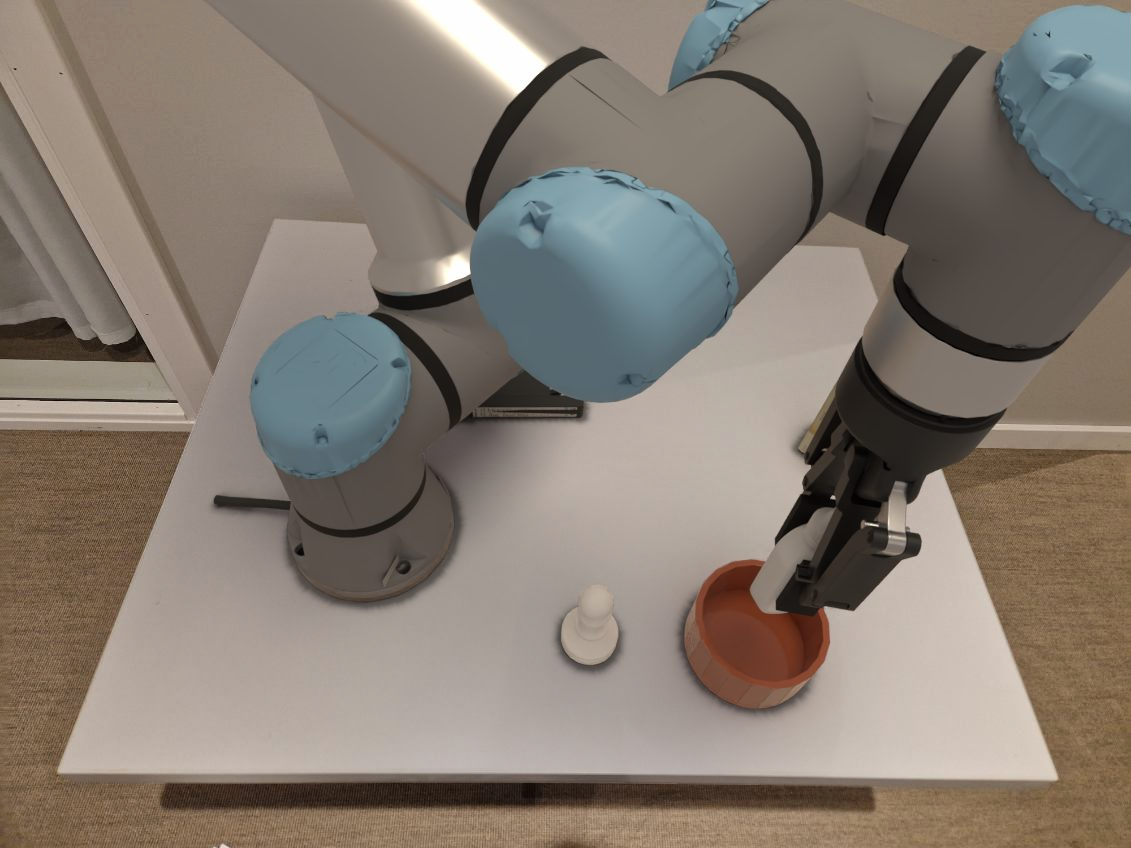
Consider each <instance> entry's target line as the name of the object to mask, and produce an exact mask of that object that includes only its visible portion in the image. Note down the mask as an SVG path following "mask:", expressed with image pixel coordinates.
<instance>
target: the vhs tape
mask: <svg viewBox="0 0 1131 848" xmlns="http://www.w3.org/2000/svg"><path fill="white" fill-rule="evenodd" d="M584 402H585V401H582V400H578V399H574V398H571V397H568V396H565V395H563V394H561V393H559V392H557V391H555V390H553V389H551V388H550V387H548V386H546V385H544V384H543V383H541V382H540V381H538V380H537V379H536V378H534V377H533V376H532V375H530V374H529V373H528V372H527V371H525V370H523V372H521V373H520V374H519V375H517V376H516V377H514V378H512V379H510V380H509V381H508V382H507V383H506V384H504V385H503V386H502V387H501V388H500V389H499V390H497V391H496V392H495V393H494V394H493V395H491V396H490V397H489V398H488V399H487V400H485V401H484V402H483V403H482V404H481V405H480V406H478V407H477V408H476V409H475V410H474V411H472V412H471V413H470V414H469V415H468V416H467V417H465V418H464V419H493V418H494V419H497V418H499V419H505V418H506V419H507V418H508V419H509V418H513V419H514V418H516V419H517V418H519V419H521V418H522V419H523V418H525V419H527V418H530V419H531V418H533V419H534V418H535V419H536V418H540V419H541V418H545V419H546V418H551V419H552V418H553V419H554V418H559V419H560V418H582V417H583V415H584V405H585V403H584Z"/></svg>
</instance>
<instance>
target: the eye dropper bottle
mask: <svg viewBox="0 0 1131 848" xmlns="http://www.w3.org/2000/svg"><path fill="white" fill-rule="evenodd" d="M835 508H836V507H835ZM835 508H834V509H833V508H828V507H827V508H826V507H825V508H824V507H823V508H820V509H818V510H817V511H816V512H815V513H814V514H813V516H812V517H811V519H810V520H809V522H808V523H807V524H804V525H801V526H799V527H797V528H795V529H793V530H792V531H790V532H789V533H787V534H786V535H785V536H784V537H783V538H782V539H781V540H780V541H779V542H778V543H777V544H776V546H775V545H774V547H773V548H772V550H771V551H770V553H769V554H768V556H767V558H766V560H764V561H765V563H764V565H763V566H762V568H761V570H760V571H759V573H758V575H757V577H756V578H755V580H754V582H753V583H752V585H751V587H750V593H751V595H752V597H753V599H754V600H755V602H756V604H757V606H758V607H759V609H760V610H761V611H762V612H764V613H768V614H781V613H788V612H783V611H777V610H776V599H777V598H778V596H779V595H780V593H781V592H782V590H783V589H784V587H785V586H786V584H787V583H788V581H789V580H790V578H791V577H792V575H793V574H794V572H795V570H796V565H797V564H800V563H801V562H802V560H803V559H805V560H810V561H811V560H812V558H813V556H814V553H815V551H816V549H817V547H818V545H819V543H820V540H821V538H822V536H823V534H824V532H825V530H826V528H827V525H828V523H829V521H830V519H831V517H832V515H833V512H834V510H835Z"/></svg>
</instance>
